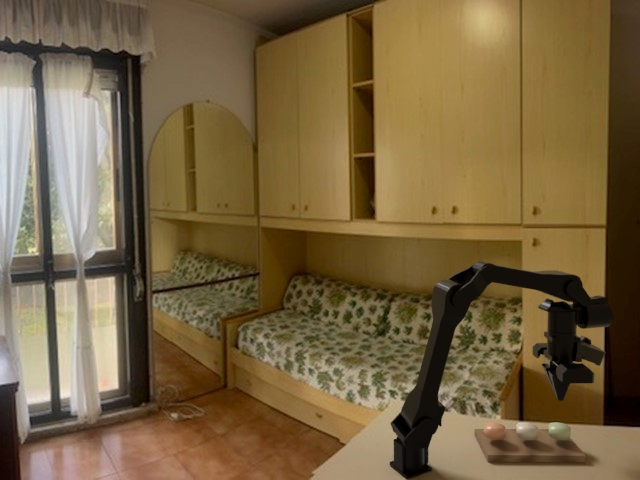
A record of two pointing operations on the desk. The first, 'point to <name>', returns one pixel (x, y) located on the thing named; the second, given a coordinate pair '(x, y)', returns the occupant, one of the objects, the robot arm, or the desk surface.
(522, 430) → the grey button
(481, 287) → the robot arm
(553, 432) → the sage button
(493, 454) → the console
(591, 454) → the desk surface
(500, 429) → the terracotta button
